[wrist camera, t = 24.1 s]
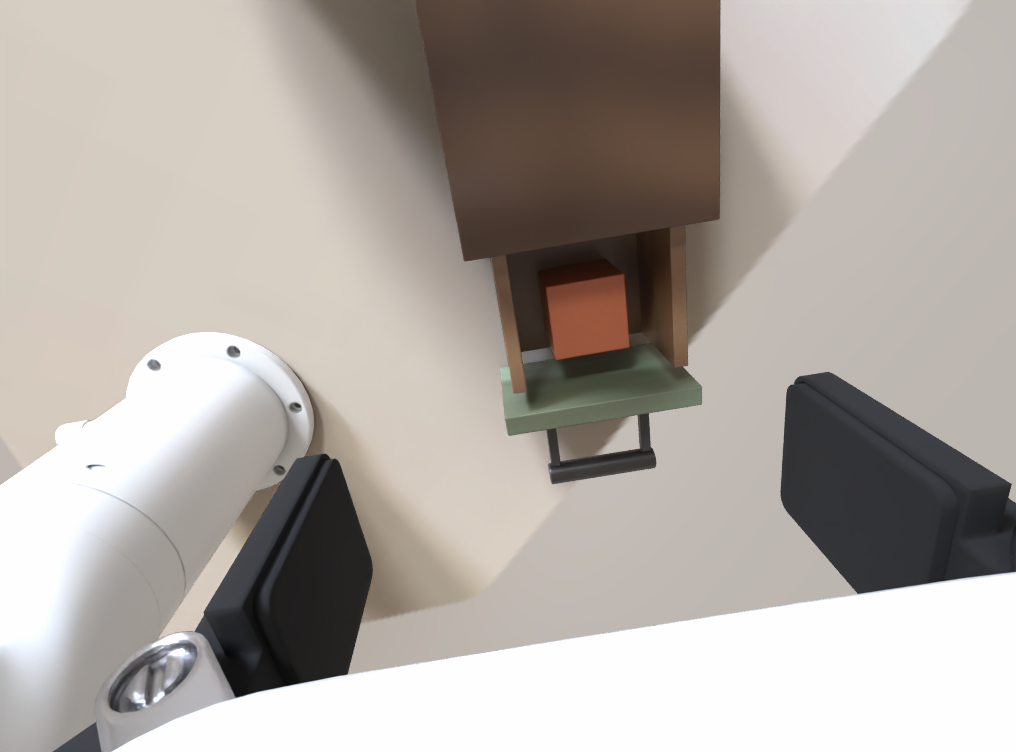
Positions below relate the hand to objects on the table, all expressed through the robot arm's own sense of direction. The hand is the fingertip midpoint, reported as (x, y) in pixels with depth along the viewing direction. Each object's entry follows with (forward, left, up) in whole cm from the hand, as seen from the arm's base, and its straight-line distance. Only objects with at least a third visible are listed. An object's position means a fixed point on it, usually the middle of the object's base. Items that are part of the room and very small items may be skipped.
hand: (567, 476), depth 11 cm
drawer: (+4, -5, -25) cm, 26 cm away
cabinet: (+4, +9, -26) cm, 28 cm away
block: (+4, -3, -24) cm, 25 cm away
